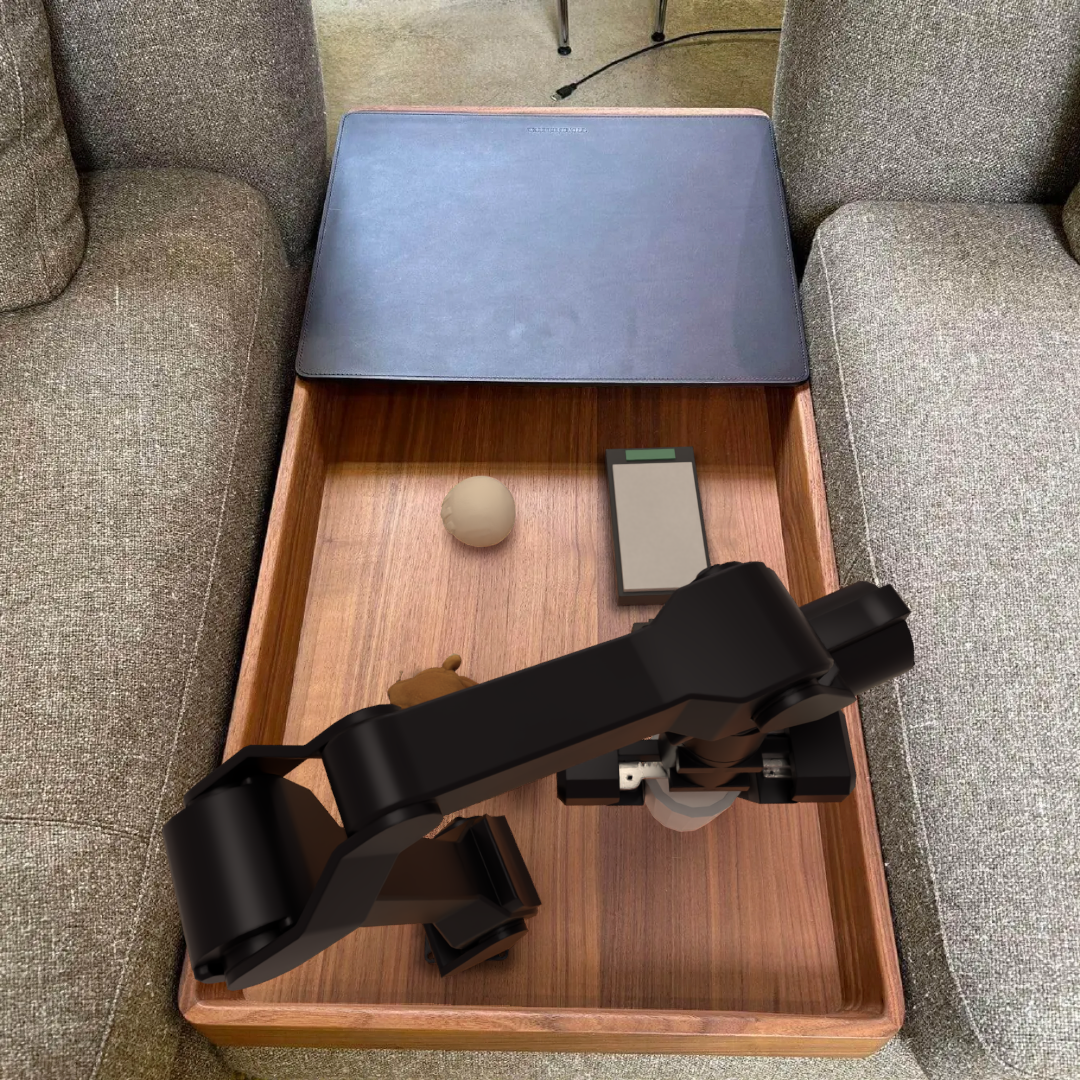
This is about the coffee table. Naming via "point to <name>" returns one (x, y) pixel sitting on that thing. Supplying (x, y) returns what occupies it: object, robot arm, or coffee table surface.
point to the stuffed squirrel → (429, 684)
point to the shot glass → (684, 804)
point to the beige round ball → (479, 511)
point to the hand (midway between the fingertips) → (684, 786)
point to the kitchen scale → (654, 522)
